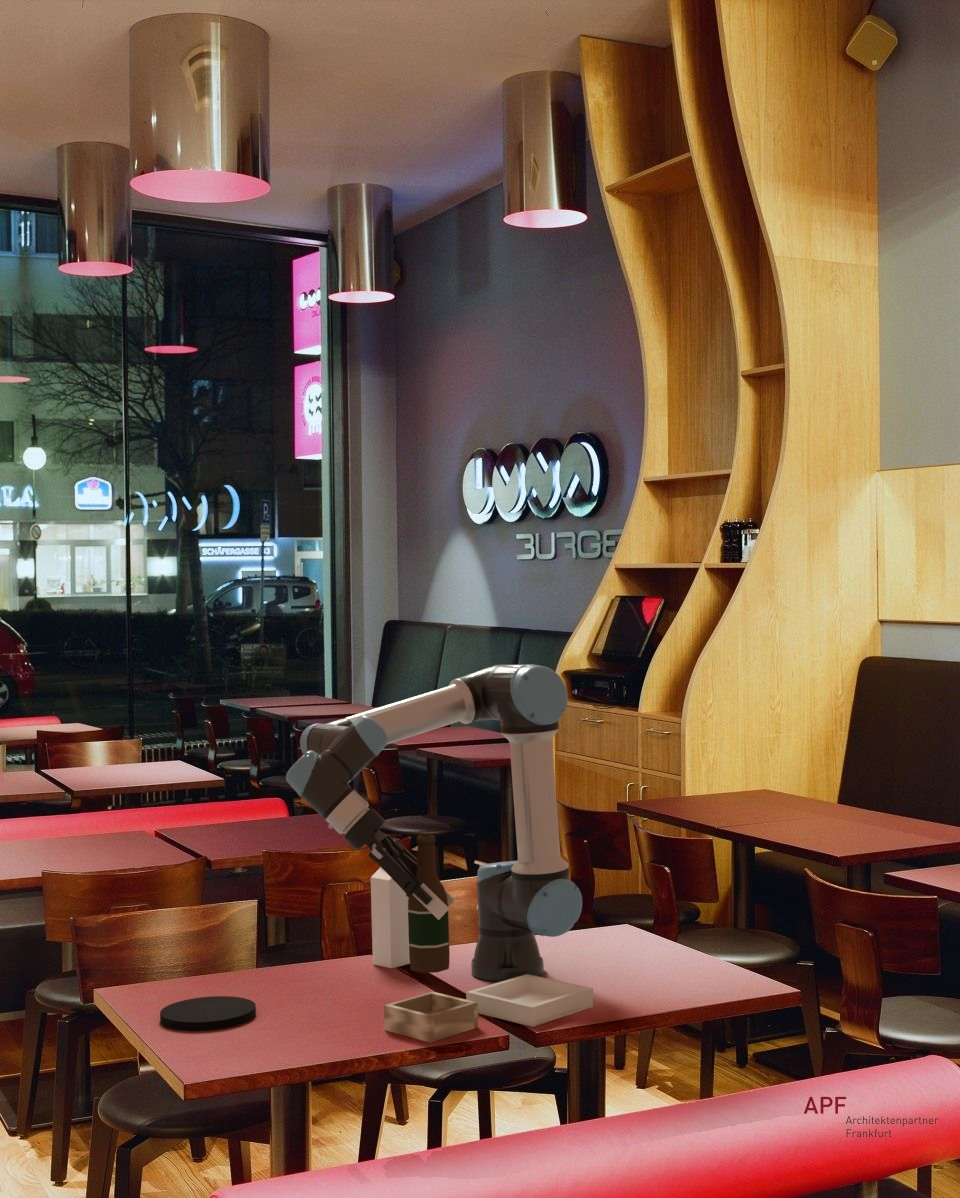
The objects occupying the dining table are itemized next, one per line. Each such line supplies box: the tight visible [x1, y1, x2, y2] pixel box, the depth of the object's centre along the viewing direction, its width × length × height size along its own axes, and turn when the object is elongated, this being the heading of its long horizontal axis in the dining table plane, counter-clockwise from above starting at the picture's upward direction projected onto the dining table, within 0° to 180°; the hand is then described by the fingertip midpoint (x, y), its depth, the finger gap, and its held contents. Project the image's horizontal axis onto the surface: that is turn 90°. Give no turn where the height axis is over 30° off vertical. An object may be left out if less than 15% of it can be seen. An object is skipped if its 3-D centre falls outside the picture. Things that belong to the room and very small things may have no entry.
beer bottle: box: [408, 834, 450, 974], centre depth 255 cm, size 8×8×24 cm
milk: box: [370, 866, 410, 969], centre depth 304 cm, size 6×6×22 cm
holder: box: [383, 991, 479, 1043], centre depth 255 cm, size 12×12×4 cm
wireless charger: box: [159, 995, 257, 1032], centre depth 266 cm, size 18×18×2 cm
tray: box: [465, 974, 594, 1028], centre depth 266 cm, size 17×17×4 cm
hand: (447, 909), depth 255 cm, fingers closed on beer bottle, 7 cm apart
